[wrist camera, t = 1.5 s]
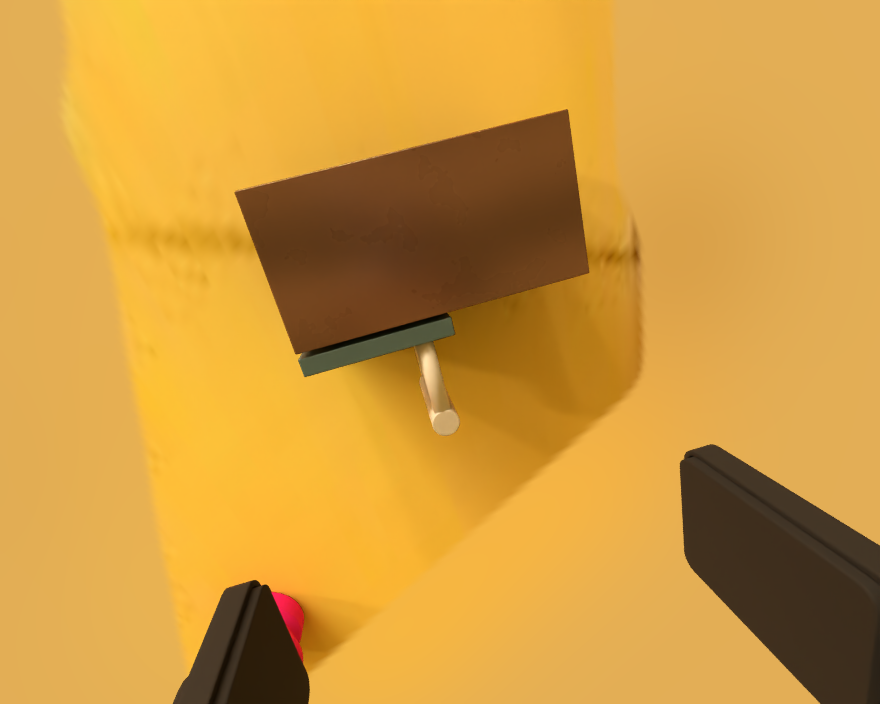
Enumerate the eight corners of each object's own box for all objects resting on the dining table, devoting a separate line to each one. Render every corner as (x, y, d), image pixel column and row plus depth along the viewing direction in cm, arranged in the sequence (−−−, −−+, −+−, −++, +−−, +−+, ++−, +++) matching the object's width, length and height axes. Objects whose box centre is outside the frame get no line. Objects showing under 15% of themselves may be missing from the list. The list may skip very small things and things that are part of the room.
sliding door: (319, 320, 31) (297, 360, 22) (427, 290, 31) (451, 317, 22) (348, 402, 33) (339, 470, 24) (449, 373, 33) (478, 428, 24)
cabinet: (279, 203, 28) (233, 191, 19) (505, 146, 29) (568, 108, 20) (318, 315, 31) (295, 355, 21) (525, 259, 32) (589, 273, 23)
